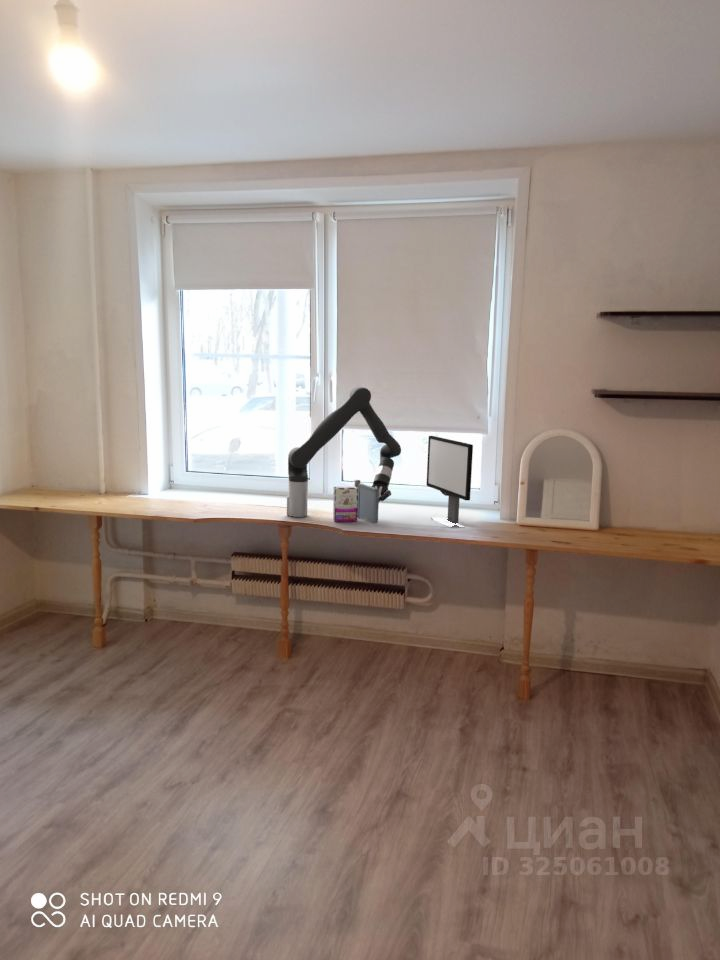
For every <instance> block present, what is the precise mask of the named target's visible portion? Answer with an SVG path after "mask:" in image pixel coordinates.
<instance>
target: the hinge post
mask: <svg viewBox="0 0 720 960" xmlns="http://www.w3.org/2000/svg"><path fill="white" fill-rule="evenodd" d="M360 483H361V480H360V479H353V487H357V488H358V484H360ZM357 518H359V517H358V516H357Z"/></svg>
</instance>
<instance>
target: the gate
mask: <svg viewBox="0 0 720 960" xmlns="http://www.w3.org/2000/svg"><path fill="white" fill-rule="evenodd" d="M371 486H372V485H371ZM371 486H370V485H367V484H365V483H361V482H360V484H358V508H357V516H358V517H357V518H361V519H364V520H367V521H368V522H369V521H370V522H372V523H374V524H378V523H379V503H380V502H379V489H377V488H374V487H371Z"/></svg>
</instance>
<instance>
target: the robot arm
mask: <svg viewBox="0 0 720 960" xmlns="http://www.w3.org/2000/svg"><path fill="white" fill-rule="evenodd" d="M371 400H372V393H371V391H370V390H369V389H368V388H367V387H363V386H355V387H353V388H352V389H350V391H349V398H348V399H347V400H346V402H344V403H343V404H342V405H341V406H340V407H339V408H337V409H335V410H334V411H332V412H331V413H330V414H329V415H327V416H326V417H325V418H324V419H323V420H322V421H321V422H319V424H318V425H317V426H316V428H315V429H314V430H313V432H312V434H311V435H310V437H309V438H308V440H306V442H304V443H303V444H302V445H301V446H299V447H298V446H297V447H293V448H292V449H291V450H290V451H289V452H288V458H287V460H288V461H287V466H288V467H287V468H288V469H287V471H288V472H287V473H288V474H287V476H288V495H287V496H286V516H287V515H289V517H291V516H293V517H292V518H305V517H307V516H308V500H309V499H308V498H309V497H308V496H309V495H308V492H309V491H308V489H309V487H308V486H309V475H308V464H309V463H310V461H311V460H312V459H313V458H314V457H315V455H316V454H317V453H318V452H319V451H320V450H322V448H323V447H324V446H326V444H328V443H329V442H330V441H331V440H332V439H334V437H336V435H337V434H338V433H339V432H340V431H341V430H342V429H343V428H344V427H345V426H346V425H347V424H348V422H349V421H350V420H351V419H352V418H353V417H354V416H355V415H356V414H358V413H360V415H362V418H363V419H364V420H365V422H366V424H367V426H368V428H369V429H370V431H371V432H372V434H373V436H374V438H375V440H376V441H377V442H378V443H379V444H384V445H383V446H382V447H381V448H380V449H379V450H380V451H379V464H378V468H377V470H376V472H375V476H374V480H373V482H372V483H373V484H372V485H371V487H374V488H377V489H379V503H380V502H384V501H385V500H387V498H389V497H391V496H392V491H391V490H389V485H390V482H391V478H392V473H393V469H394V466H395V462H394V460H393V459H392V458H396V457H398V456H400V455H401V453H402V448H401V445H400V443H399V442H398V441H397V440H396V439H395V438H394V437H393V436H392V435H391V434H390V432H389V430H388V429H387V427H386V426H385V424H384V422H383V420H382V419H381V418H380V417H379V416H378V414H377V413H376V411H375V409H374V408H373V407H372V404H371V403H370V401H371ZM304 516H305V517H304Z"/></svg>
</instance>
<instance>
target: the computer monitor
mask: <svg viewBox="0 0 720 960" xmlns="http://www.w3.org/2000/svg"><path fill="white" fill-rule="evenodd" d="M473 453H474V445H473V444H471V443H467V442H462V441H458V440H452V439H449V438H443V437H439V436H435V435H428V447H427V463H426V466H427V468H426V469H427V470H426V487H429V488H432V489H434V490H437V491H440V493H441V494H442V495H444V496H445V497H448V499H447V500H448V504H447V518H448V519H447V520H448V521H450V522H452V523H455V524H456V523H459V514H460V499H461V500H464V501H471V491H472V490H471V486H472V469H473V468H472V467H473ZM452 527H453V528H452V529H455V528H454V527H459V526H457V525H454V526H452Z"/></svg>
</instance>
